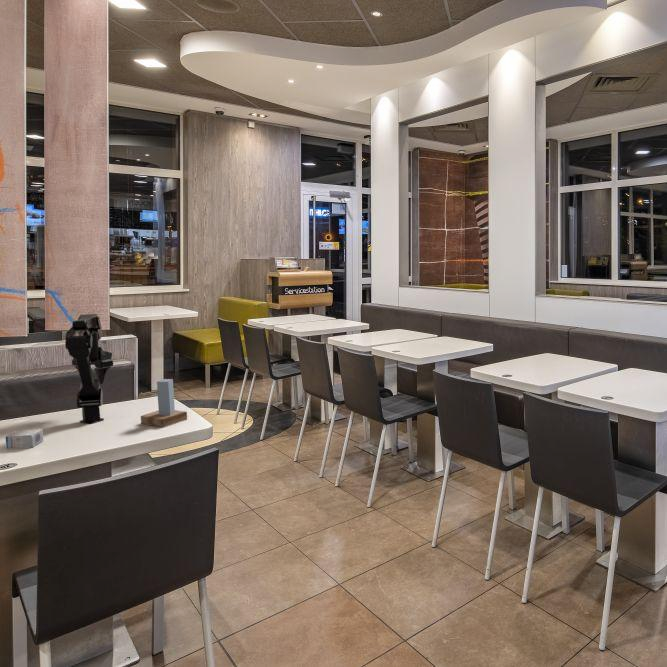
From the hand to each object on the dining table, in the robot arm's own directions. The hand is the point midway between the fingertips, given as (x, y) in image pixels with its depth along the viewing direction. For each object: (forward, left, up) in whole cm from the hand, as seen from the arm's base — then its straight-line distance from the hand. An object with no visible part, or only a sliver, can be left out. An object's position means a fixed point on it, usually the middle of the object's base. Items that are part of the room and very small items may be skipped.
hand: (94, 383), depth 225 cm
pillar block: (-36, -5, -10) cm, 38 cm away
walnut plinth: (-35, -4, -13) cm, 38 cm away
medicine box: (-17, +35, -11) cm, 41 cm away
